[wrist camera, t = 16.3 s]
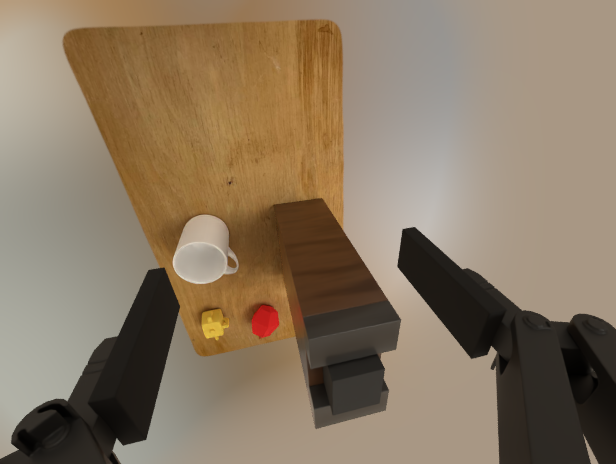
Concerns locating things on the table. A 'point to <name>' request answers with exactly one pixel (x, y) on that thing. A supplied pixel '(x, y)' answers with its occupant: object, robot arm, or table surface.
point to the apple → (265, 321)
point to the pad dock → (331, 301)
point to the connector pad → (354, 383)
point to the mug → (204, 250)
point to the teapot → (214, 323)
